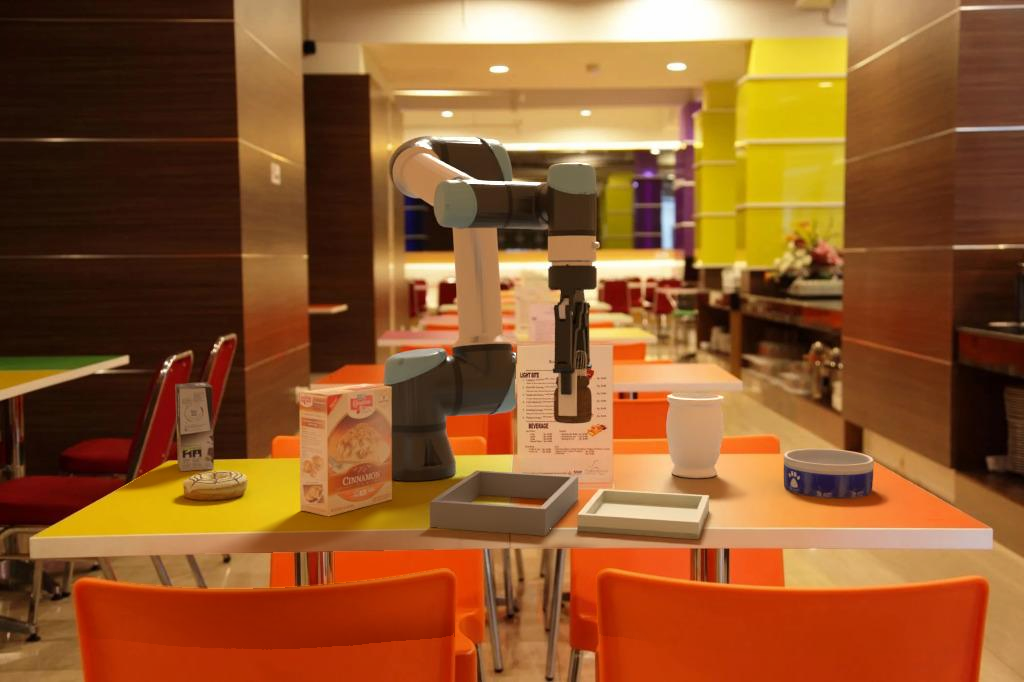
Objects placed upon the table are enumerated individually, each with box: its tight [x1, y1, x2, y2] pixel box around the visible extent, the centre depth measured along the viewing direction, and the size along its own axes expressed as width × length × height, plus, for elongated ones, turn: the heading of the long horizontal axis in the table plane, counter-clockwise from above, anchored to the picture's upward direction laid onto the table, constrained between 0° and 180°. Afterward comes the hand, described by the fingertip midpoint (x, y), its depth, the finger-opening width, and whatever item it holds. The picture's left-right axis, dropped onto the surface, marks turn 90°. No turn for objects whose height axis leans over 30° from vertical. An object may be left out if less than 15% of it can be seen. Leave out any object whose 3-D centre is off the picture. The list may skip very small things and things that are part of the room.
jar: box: [665, 392, 725, 479], centre depth 198 cm, size 11×10×15 cm
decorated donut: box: [182, 470, 249, 502], centre depth 181 cm, size 10×11×4 cm
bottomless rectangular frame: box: [429, 470, 579, 537], centre depth 169 cm, size 18×24×4 cm
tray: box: [576, 488, 710, 540], centre depth 164 cm, size 18×18×2 cm
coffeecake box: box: [298, 383, 393, 517], centre depth 173 cm, size 15×7×20 cm, turn 143°
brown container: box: [553, 351, 593, 425], centre depth 164 cm, size 6×6×12 cm
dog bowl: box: [783, 448, 875, 499], centre depth 186 cm, size 15×15×6 cm
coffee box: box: [174, 381, 215, 472], centre depth 205 cm, size 9×6×16 cm
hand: (572, 412), depth 164 cm, fingers closed on brown container, 6 cm apart
